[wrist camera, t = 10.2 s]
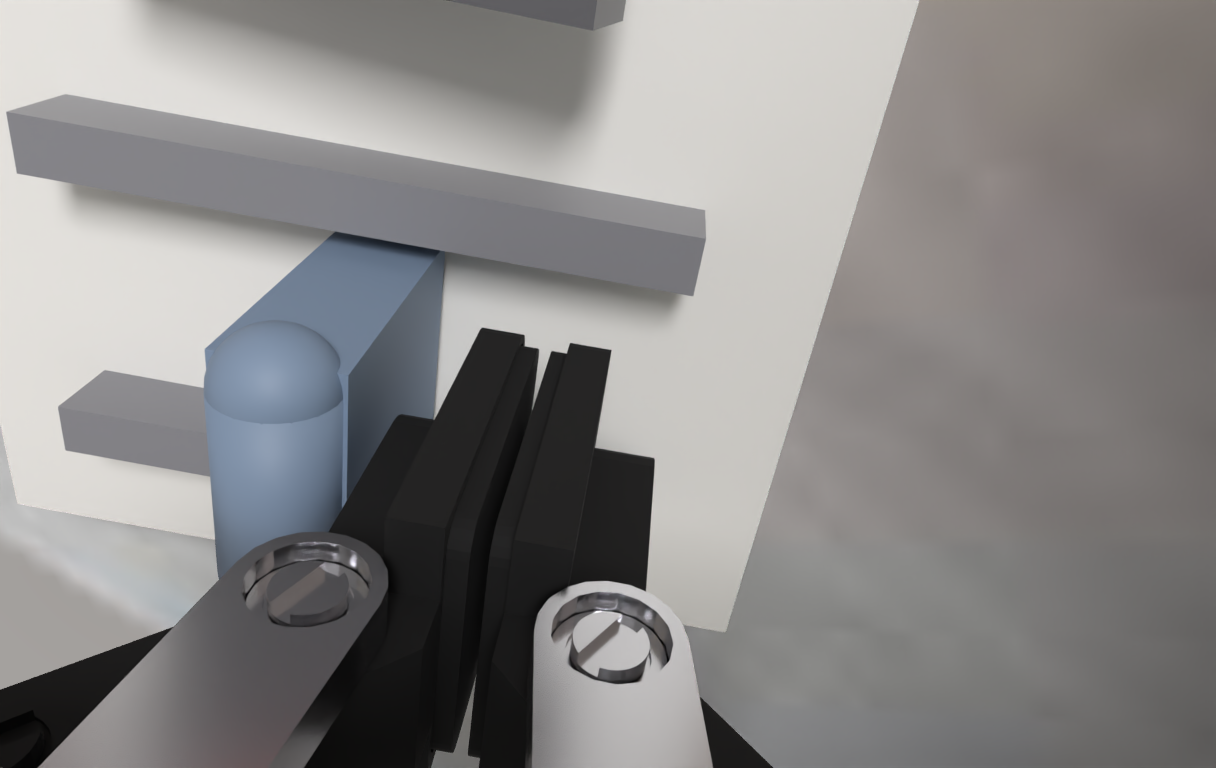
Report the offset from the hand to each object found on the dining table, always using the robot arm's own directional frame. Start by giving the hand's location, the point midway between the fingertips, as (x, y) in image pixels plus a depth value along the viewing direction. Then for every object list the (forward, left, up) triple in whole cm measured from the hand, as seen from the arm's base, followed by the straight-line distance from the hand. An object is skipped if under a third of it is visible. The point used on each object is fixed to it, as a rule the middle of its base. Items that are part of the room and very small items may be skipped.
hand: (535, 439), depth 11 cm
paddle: (0, -3, -2) cm, 3 cm away
